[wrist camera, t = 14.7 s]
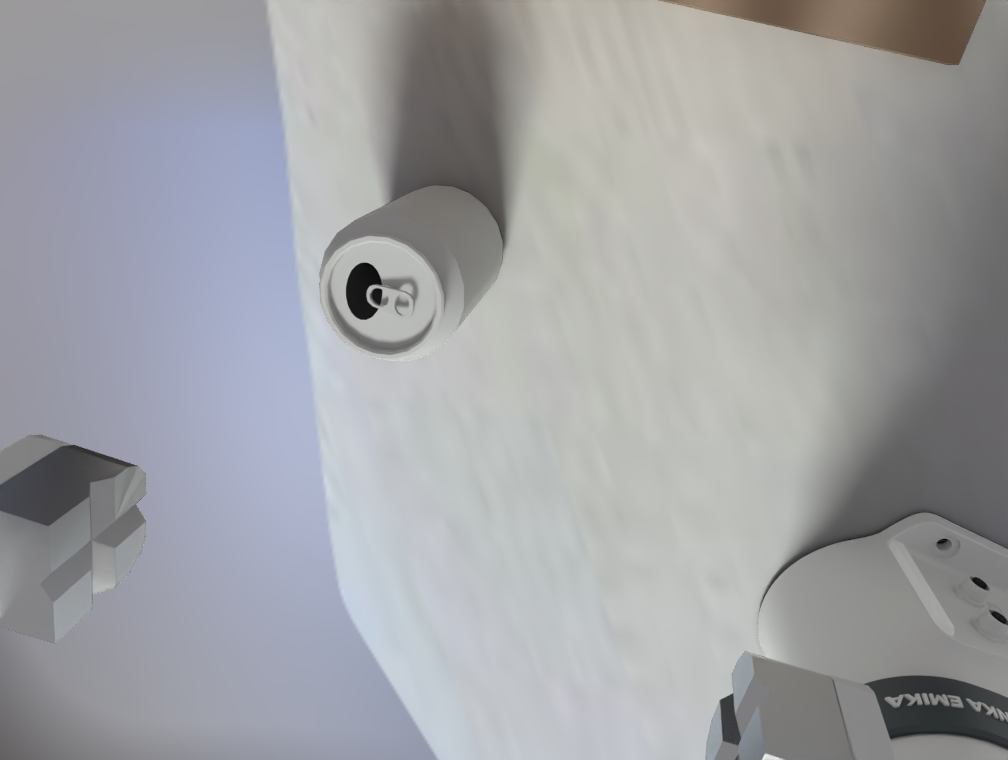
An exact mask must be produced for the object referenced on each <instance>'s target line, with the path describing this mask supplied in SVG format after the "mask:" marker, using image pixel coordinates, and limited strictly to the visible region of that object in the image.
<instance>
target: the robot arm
mask: <svg viewBox="0 0 1008 760" xmlns="http://www.w3.org/2000/svg"><path fill="white" fill-rule="evenodd" d="M145 495H146V473H145V472H144V471H143V470H142V469H141V468H140V467H139V466H137V465H134V464H130V463H127V462H124V461H122V460H119V459H116V458H113V457H110V456H106V455H103V454H100V453H97V452H94V451H91V450H88V449H85V448H82V447H79V446H76V445H70V444H68V443H66V442H63V441H59V440H56V439H53V438H50V437H47V436H44V435H28V436H26V437H25V438H23V439H21V440H19V441H18V442H16V443H14V444H12V445H11V446H9V447H7V448H6V449H4V450H2V451H0V628H4V629H7V630H11V631H14V632H17V633H20V634H24V635H27V636H31V637H34V638H37V639H40V640H44V641H47V642H50V643H54V644H56V643H57V641H59V640H60V639H61V638H62V637H63V636H64V635H65V634H66V633H67V632H68V631H69V630H70V629H71V628H73V627H74V625H76V624H77V623H78V622H79V621H80V620H81V619H82V618H83V617H84V616H85V615H86V614H87V613H88V612H90V611H91V610H92V603H93V594H96V593H99V592H102V591H105V590H108V589H111V588H114V587H116V586H117V585H118V584H119V583H120V582H121V581H122V580H123V579H124V578H125V577H126V576H127V575H128V574H129V573H130V572H131V570H132V568H133V566H134V565H135V563H136V561H137V559H138V557H139V556H140V554H141V552H142V548H143V544H144V541H145V537H146V520H145V519H144V517H143V515H142V514H141V512H140V511H139V509H138V507H137V505H136V503H137V502H138V501H140V500H141V499H142V498H143V497H144V496H145ZM941 539H948V540H947V541H946V542H945V543H943V544H937V542H938V541H939V540H941ZM758 636H759V642H760V645H761V649H762V651H763V654H764V656H765V657H764V656H760V655H757V654H754V653H750V652H747V651H745V652H744V653H743V654H742V656H741V657H740V658H739V659H738V661H737V664H736V666H735V668H734V670H733V672H732V685H733V694H731V695H729V696H727V697H725V698H723V699H721V700H720V701H719V704H718V706H717V708H716V711H715V713H714V716H713V718H712V721H711V726H710V730H709V734H708V739H707V746H706V759H705V760H1008V549H1006V548H1004V547H1002V546H1000V545H998V544H996V543H994V542H992V541H990V540H988V539H985V538H983V537H981V536H979V535H977V534H975V533H973V532H971V531H969V530H967V529H965V528H963V527H960V526H958V525H956V524H954V523H952V522H950V521H948V520H946V519H944V518H942V517H939V516H937V515H935V514H931V513H918V514H915V515H912V516H909V517H907V518H905V519H903V520H901V521H899V522H897V523H895V524H894V525H892V526H890V527H889V528H887V529H885V530H884V531H882V532H880V533H878V534H875V535H872V536H868V537H864V538H858V539H853V540H848V541H843V542H839V543H835V544H832V545H829V546H826V547H824V548H821V549H819V550H816V551H814V552H812V553H810V554H808V555H806V556H804V557H803V558H801V559H800V560H798V561H796V562H795V563H794V564H792V565H791V566H790V567H789V568H787V569H786V570H785V571H784V572H783V573H782V574H781V575H780V576H779V577H778V578H777V579H776V581H775V582H774V583H773V584H772V586H771V587H770V589H769V590H768V592H767V594H766V596H765V598H764V600H763V603H762V605H761V608H760V612H759V617H758Z"/></svg>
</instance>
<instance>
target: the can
mask: <svg viewBox="0 0 1008 760" xmlns="http://www.w3.org/2000/svg"><path fill="white" fill-rule="evenodd" d="M502 260H503V241H502V238H501V235H500V231H499V228H498V224H497V222H496V221H495V219H494V218H493V216H492V215H491V213H490V212H489V210H488V209H487V207H486V206H485V205H484V204H482V203H481V202H480V201H479V200H477V199H476V198H475V197H474V196H473V195H471V194H470V193H467V192H465V191H462V190H460V189H457V188H455V187H452V186H438V185H432V186H428V187H424V188H421V189H417V190H414V191H412V192H410V193H408V194H406V195H404V196H402V197H400V198H398V199H396V200H394V201H392V202H390V203H388V204H386V205H384V206H382V207H380V208H378V209H376V210H374V211H372V212H370V213H368V214H366V215H364V216H362V217H360V218H358V219H357V220H355V221H353V222H352V223H351V224H349V225H348V226H346V227H345V228H344V229H342V230H341V231H339V232H338V233H337V234H336V236H335V237H334V239H333V240H332V242H331V243H330V245H329V246H328V248H327V249H326V251H325V253H324V257H323V261H322V265H321V269H320V283H319V286H320V301H321V305H322V308H323V311H324V313H325V316H326V319H327V321H328V323H329V324H330V326H331V327H332V328H333V330H334V331H335V333H336V334H337V335H338V337H339V338H340V339H341V340H343V341H344V342H345V343H346V344H348V345H349V346H350V347H351V348H353V349H354V350H355V351H357V352H360V353H362V354H365V355H367V356H369V357H372V358H376V359H382V360H392V361H402V362H405V361H410V360H414V359H419V358H424V357H426V356H428V355H429V354H431V353H433V352H434V351H436V350H438V349H439V348H441V347H443V346H444V345H445V343H446V342H447V341H448V340H449V338H450V337H451V336H452V335H453V333H454V332H455V331H456V330H457V328H458V327H459V326H460V325H461V323H462V322H463V321H464V320H465V318H466V317H467V316H468V315H469V313H470V312H471V311H472V310H473V308H474V307H475V306H476V305H477V303H478V302H479V301H480V300H481V298H482V297H483V296H484V295H485V293H486V292H487V291H488V290H489V288H490V287H491V286H492V285H493V283H494V282H495V281H496V279H497V276H498V273H499V271H500V268H501V265H502Z"/></svg>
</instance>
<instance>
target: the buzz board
mask: <svg viewBox="0 0 1008 760" xmlns="http://www.w3.org/2000/svg"><path fill="white" fill-rule="evenodd" d="M660 1H664V2H669V3H673V4H678V5H682V6H687V7H691V8H696V9H700V10H705V11H709V12H714V13H718V14H723V15H727V16H732V17H736V18H740V19H745V20H749V21H754V22H758V23H763V24H767V25H772V26H776V27H781V28H785V29H790V30H794V31H799V32H803V33H808V34H812V35H817V36H821V37H826V38H830V39H835V40H839V41H843V42H848V43H852V44H857V45H861V46H866V47H870V48H875V49H879V50H884V51H888V52H893V53H897V54H902V55H906V56H911V57H915V58H920V59H924V60H929V61H933V62H938V63H942V64H947V65H959V62H960V60H961V58H962V55H963V53H964V51H965V48H966V46H967V44H968V41H969V39H970V37H971V34H972V32H973V30H974V27H975V25H976V23H977V20H978V18H979V16H980V13H981V11H982V8H983V6H984V4H985V1H986V0H660Z"/></svg>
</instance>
